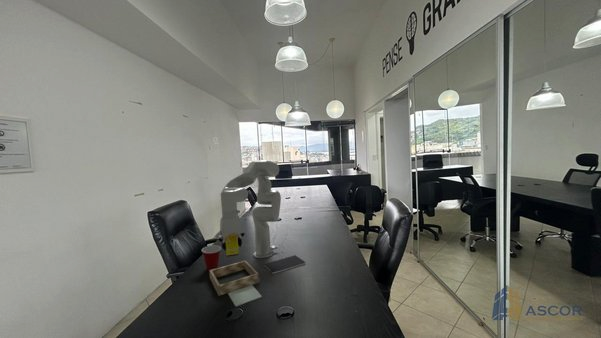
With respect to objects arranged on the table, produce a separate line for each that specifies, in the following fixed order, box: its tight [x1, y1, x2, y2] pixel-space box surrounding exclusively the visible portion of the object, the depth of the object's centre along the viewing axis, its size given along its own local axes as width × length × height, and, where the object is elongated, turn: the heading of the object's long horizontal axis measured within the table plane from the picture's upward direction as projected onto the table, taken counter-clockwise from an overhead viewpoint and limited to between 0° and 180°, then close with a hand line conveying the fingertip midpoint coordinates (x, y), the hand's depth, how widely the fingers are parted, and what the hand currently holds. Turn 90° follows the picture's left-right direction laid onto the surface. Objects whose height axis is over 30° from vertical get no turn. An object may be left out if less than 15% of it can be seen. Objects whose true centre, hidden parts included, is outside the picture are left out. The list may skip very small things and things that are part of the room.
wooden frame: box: [208, 260, 260, 297], centre depth 127 cm, size 20×20×4 cm
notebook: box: [263, 254, 306, 275], centre depth 142 cm, size 13×2×21 cm
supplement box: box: [225, 234, 240, 258], centre depth 126 cm, size 6×6×11 cm
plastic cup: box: [201, 244, 222, 271], centre depth 142 cm, size 11×11×12 cm
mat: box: [227, 284, 262, 307], centre depth 112 cm, size 12×12×1 cm
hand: (232, 247), depth 126 cm, fingers closed on supplement box, 7 cm apart
